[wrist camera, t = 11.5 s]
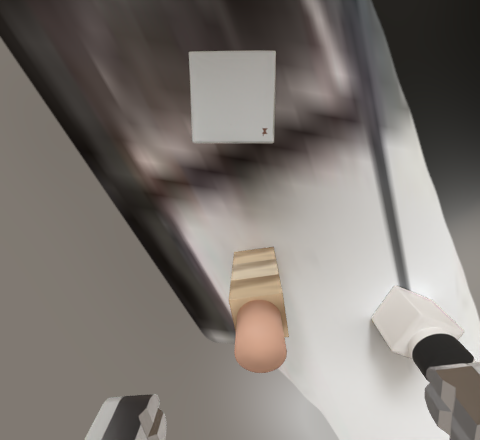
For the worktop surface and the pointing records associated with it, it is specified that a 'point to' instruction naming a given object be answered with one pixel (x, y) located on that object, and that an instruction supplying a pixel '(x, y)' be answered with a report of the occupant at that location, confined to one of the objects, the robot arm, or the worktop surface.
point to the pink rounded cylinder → (259, 337)
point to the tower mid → (254, 269)
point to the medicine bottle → (420, 330)
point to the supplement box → (232, 96)
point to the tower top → (257, 295)
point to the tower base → (254, 255)
